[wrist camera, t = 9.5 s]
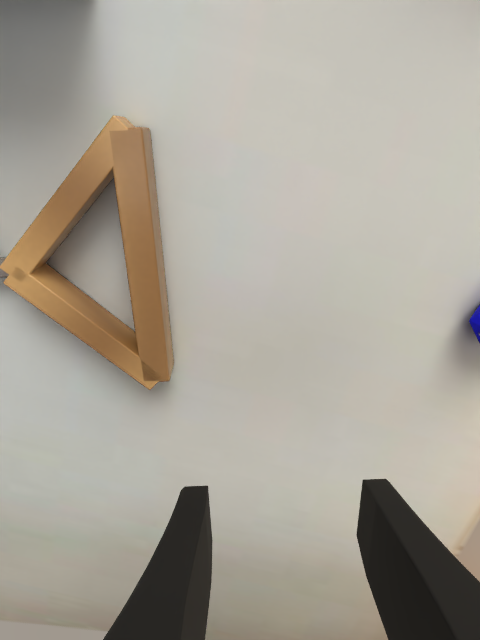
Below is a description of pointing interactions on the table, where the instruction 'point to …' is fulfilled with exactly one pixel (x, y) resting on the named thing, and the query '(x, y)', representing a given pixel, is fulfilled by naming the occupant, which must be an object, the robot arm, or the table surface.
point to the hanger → (139, 248)
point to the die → (476, 323)
